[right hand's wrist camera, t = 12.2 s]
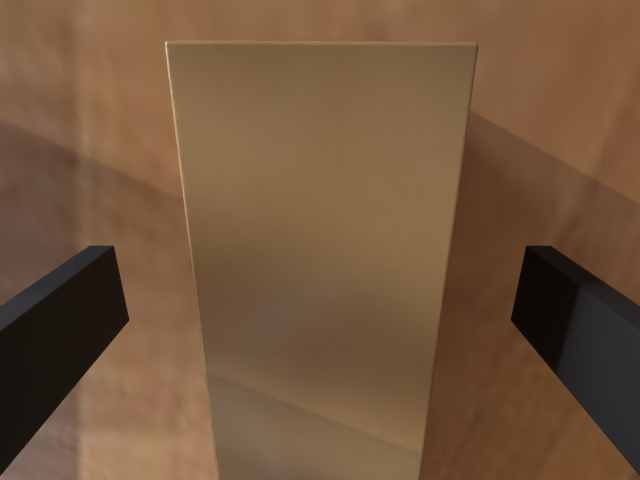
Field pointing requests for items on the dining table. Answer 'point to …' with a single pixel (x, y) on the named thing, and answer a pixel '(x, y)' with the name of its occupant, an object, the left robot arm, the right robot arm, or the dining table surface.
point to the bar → (320, 244)
